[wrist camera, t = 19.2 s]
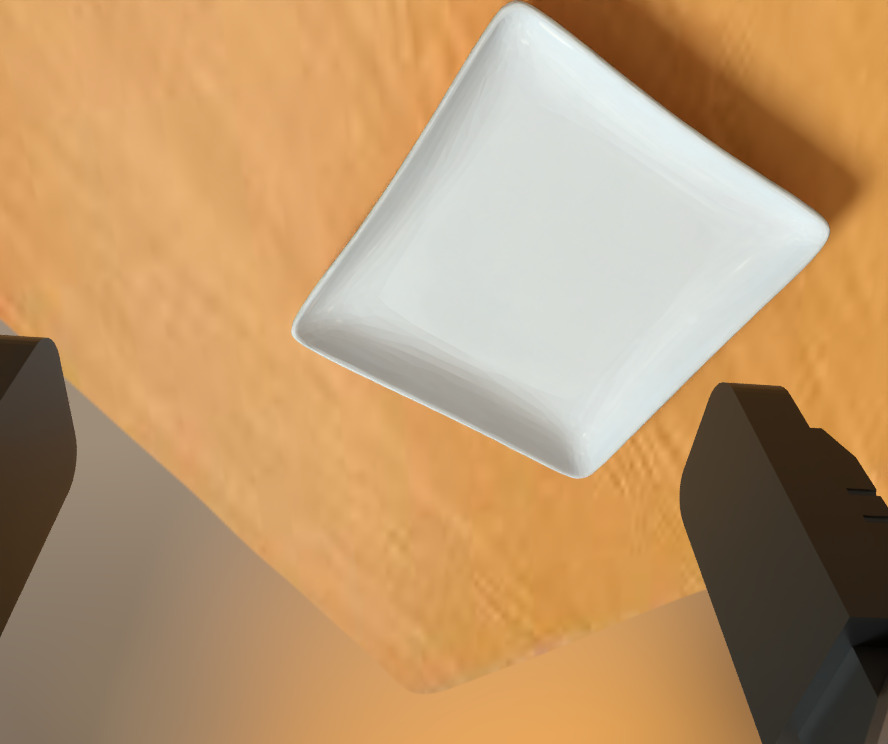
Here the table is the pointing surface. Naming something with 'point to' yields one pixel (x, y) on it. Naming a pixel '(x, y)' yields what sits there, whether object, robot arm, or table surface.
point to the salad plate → (555, 253)
